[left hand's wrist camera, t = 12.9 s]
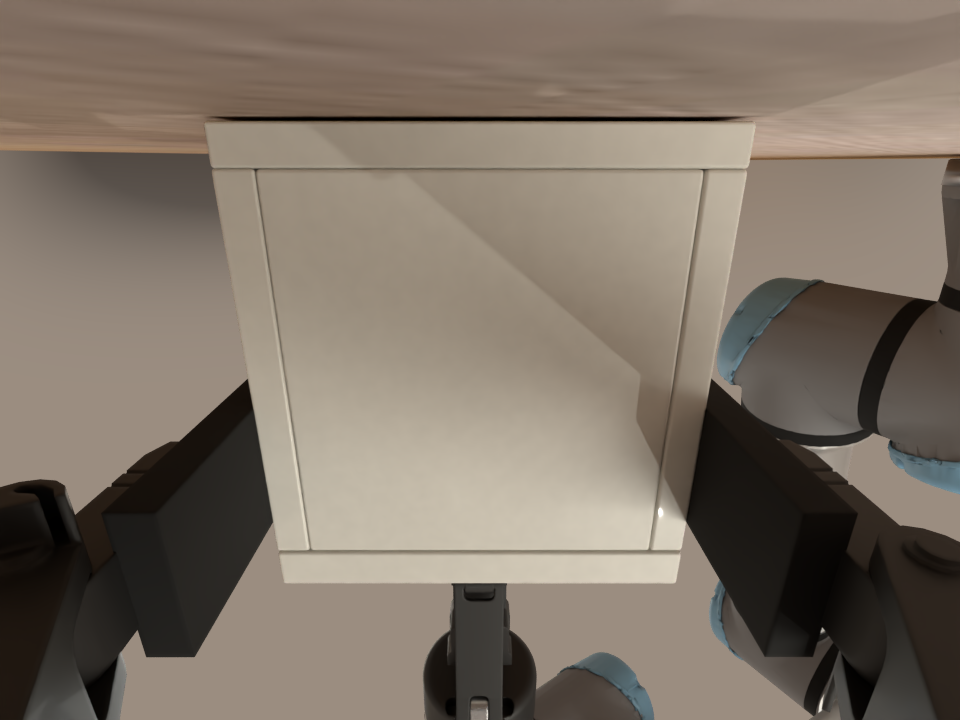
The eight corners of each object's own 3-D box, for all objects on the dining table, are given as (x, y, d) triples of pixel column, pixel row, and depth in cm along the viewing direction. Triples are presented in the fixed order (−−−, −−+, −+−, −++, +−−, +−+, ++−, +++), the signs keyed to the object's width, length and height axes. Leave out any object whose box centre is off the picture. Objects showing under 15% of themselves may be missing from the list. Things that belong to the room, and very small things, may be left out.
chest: (574, 150, 24) (563, 325, 27) (385, 150, 24) (395, 325, 27) (758, 120, 8) (682, 551, 11) (200, 120, 8) (276, 551, 11)
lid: (562, 323, 28) (554, 462, 31) (397, 323, 28) (405, 462, 31) (682, 553, 11) (638, 801, 14) (277, 553, 11) (320, 801, 14)
